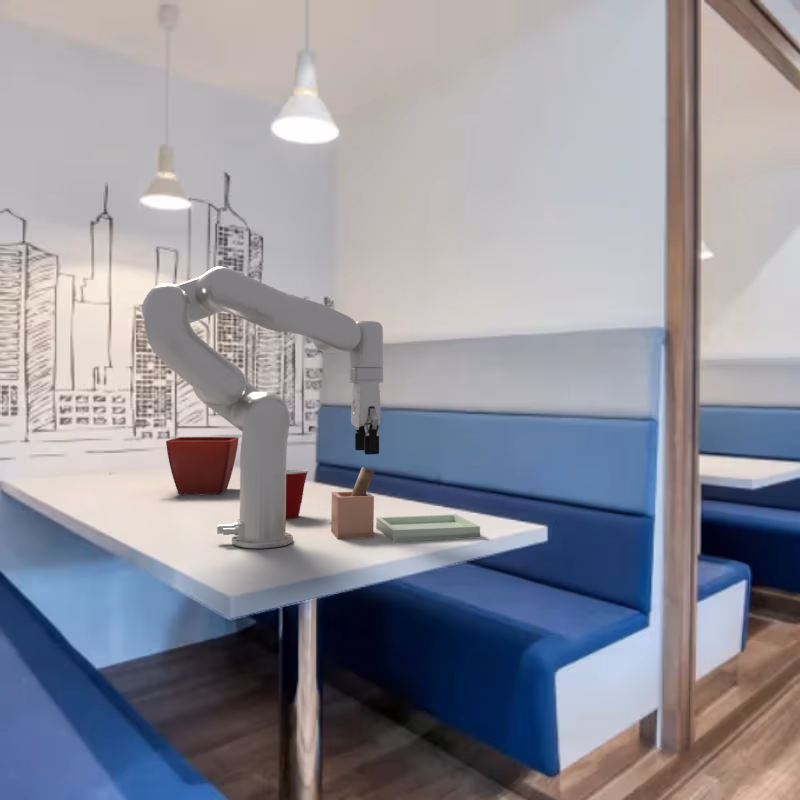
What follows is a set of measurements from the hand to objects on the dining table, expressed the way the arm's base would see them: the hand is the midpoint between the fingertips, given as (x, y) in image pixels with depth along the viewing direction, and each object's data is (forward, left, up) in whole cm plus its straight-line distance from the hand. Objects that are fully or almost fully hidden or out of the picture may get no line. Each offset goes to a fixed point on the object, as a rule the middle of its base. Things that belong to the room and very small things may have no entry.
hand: (366, 452), depth 149 cm
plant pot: (-36, +70, -19) cm, 81 cm away
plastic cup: (-15, +24, -19) cm, 34 cm away
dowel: (-2, 0, -17) cm, 18 cm away
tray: (+14, -2, -18) cm, 23 cm away
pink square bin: (-3, 0, -18) cm, 19 cm away
